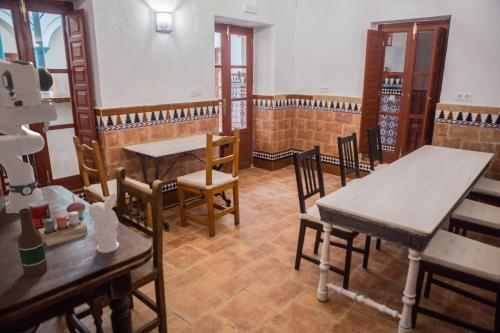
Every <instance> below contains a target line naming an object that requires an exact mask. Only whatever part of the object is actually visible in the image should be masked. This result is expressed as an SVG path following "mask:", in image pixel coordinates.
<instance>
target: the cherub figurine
mask: <svg viewBox="0 0 500 333" xmlns="http://www.w3.org/2000/svg"><path fill="white" fill-rule="evenodd" d="M117 198H118V197H117V195H116V193H113V194H112V196H111V197H108V198H107V199H105V201H104V202H101V201H100V202H92V204H91V205H90V206H89V208H88V214H89V216H90V217H91V218H92V219H93V221H94V228H93V230H94V239H96V240H97V242H98V243H97V246H96V251H97V252H98V253H101V254H108V253H112V252H115V251H116V250H118V249H119V247H120V243H119V242H118V240H117V238H118V232H117V230H116V229H117V228H118V227H119V224H120V221H119V219H118V217H117V213H116V212H115V211H114V210H113V208H114V207H115V205H116V202H117V200H118V199H117Z"/></svg>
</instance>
